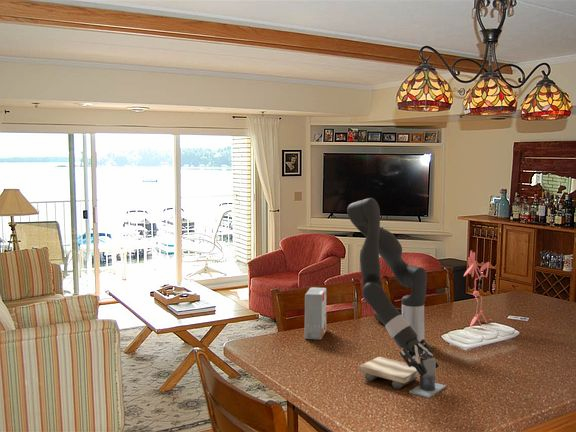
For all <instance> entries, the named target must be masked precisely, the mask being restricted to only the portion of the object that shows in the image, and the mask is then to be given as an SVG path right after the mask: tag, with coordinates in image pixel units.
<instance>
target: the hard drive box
mask: <svg viewBox="0 0 576 432" xmlns="http://www.w3.org/2000/svg"><path fill="white" fill-rule="evenodd" d="M326 331H327V287H316V286H315V287H314V286H313V287H309V289H308V290H307V292H306V293H305V294H304V339H306V340H319V341H320V340H322V339H323V337H324V335H325V333H326Z"/></svg>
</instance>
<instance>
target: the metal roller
mask: <svg viewBox="0 0 576 432" xmlns="http://www.w3.org/2000/svg"><path fill="white" fill-rule="evenodd" d="M436 362H437V361H436V358H435V357H433V358H432V357H420V360H419V363H420V364H421V365H422V366H423V368H424V369H425V370H426V372H427V373H426V374H425V375H424V376H421V375H419V385H420V389H422V390H425V391H433V390H435V383H436V369H437V368H436ZM435 368H436V369H435Z"/></svg>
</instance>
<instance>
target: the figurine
mask: <svg viewBox="0 0 576 432" xmlns="http://www.w3.org/2000/svg"><path fill="white" fill-rule="evenodd" d="M467 261H468V262H467V264H468V268H467V270H466V271H465V272H464V274H463V277H466V276H467V275H468V274H469V275H471V278H474V274H475V273H476V275H477V278H474V291H473V293H472V294H473V296H474V297H475V299H476V301H477V305H476V311H475V312H476V313H475V316H473V318H472V320H471V322H470V325H469V327H470V326H471V327H472V326H474V325H475V323H476V321H478V323H479V325H480V327H481V325H482V324H481V321H480V319H479V317H480V316H482V318H483V319H484V322H485V323H486V324H488V321H487V319H486V317H485V315H484V313H483V312H484V310H483V309H481V310H480V311H479V313H478V308H479V300H478V298H477V297H480V300H481V301H480V308H482V307H483V305H482V304H483V297H482V296H481V295H480V292H479V291H478V290H477V289H476V287H477V282H476V281H477V280H479V281H480V280H481V278H482V277H484V278H488V274H489V267H490V264H491V263H490V261H487V262H485V263H484V264H483V265H482V266H481V267H480V268H479V266H478V265H477V261H476V252H475V251H474V252H473V250H470V252H469V256H468V258H467ZM484 270H486V274H485V275H484V274H483V273H482V272H483V271H484ZM478 272H479V273H478ZM479 274H480V275H479ZM459 320H461V319H457V320H456V319H455V322H456V321H459ZM489 320H490V321H492V319H491V318H490V319H489ZM455 327H456V328H458V329H459V328H460V327H459V326H457V325H455Z"/></svg>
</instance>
